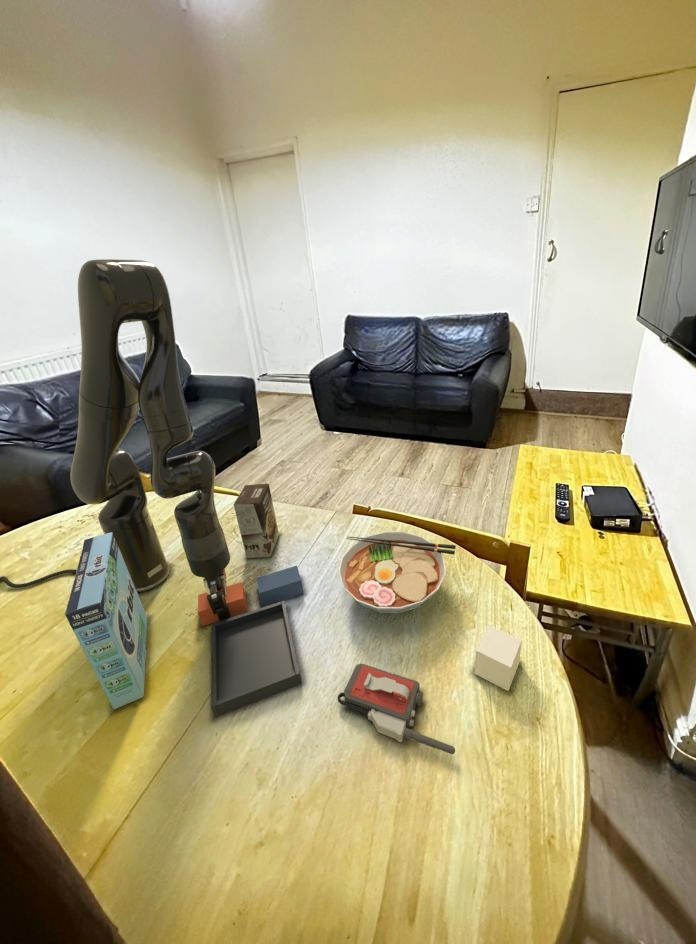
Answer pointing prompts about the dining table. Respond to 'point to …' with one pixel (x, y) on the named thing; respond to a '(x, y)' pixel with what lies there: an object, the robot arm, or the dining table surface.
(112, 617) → the gum box
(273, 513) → the coffee box
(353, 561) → the ramen bowl
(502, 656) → the beige cube
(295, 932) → the dining table surface
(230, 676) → the holder
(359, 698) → the walkie-talkie
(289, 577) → the blue rectangular block
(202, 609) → the pad
